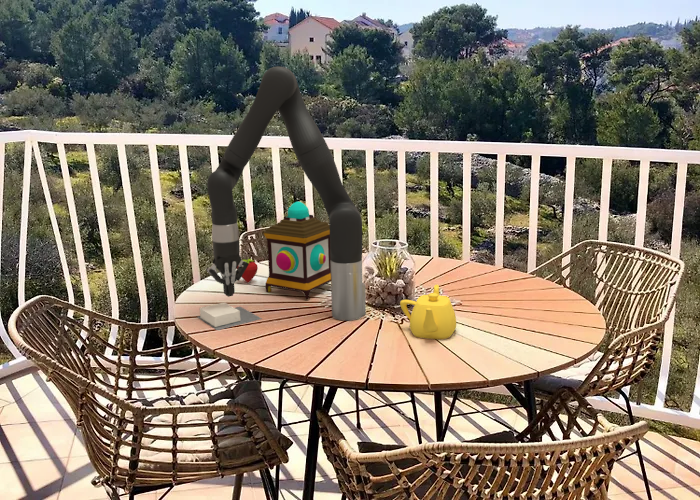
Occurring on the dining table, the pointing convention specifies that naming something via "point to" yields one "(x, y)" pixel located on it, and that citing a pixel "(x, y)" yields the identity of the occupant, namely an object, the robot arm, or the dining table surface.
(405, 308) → the teapot
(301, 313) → the dining table surface
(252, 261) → the strawberry
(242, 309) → the mat
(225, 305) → the block
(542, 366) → the dining table surface
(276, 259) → the decorative lantern
